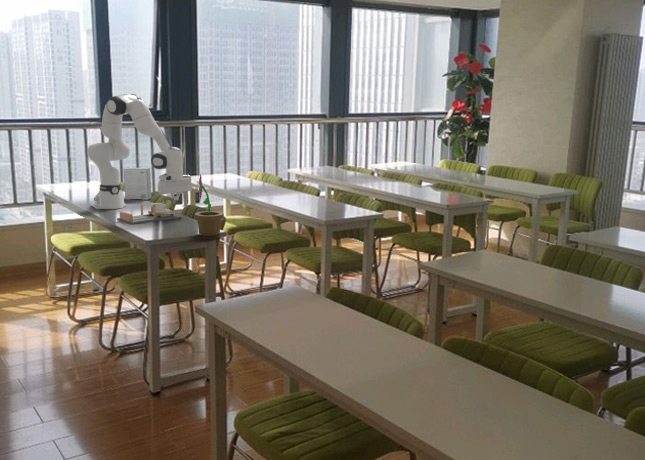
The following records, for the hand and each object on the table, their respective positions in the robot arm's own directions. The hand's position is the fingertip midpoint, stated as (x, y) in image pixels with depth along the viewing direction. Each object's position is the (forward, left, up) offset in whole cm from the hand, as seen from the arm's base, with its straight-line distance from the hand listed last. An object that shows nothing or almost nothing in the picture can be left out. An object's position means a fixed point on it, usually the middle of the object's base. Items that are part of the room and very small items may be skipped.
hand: (175, 200), depth 401 cm
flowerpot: (+53, -12, -9) cm, 55 cm away
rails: (0, -17, -9) cm, 19 cm away
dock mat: (0, -17, -9) cm, 19 cm away
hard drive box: (-67, +11, -9) cm, 68 cm away
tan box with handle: (0, -9, -7) cm, 12 cm away
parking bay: (0, -24, -8) cm, 25 cm away
